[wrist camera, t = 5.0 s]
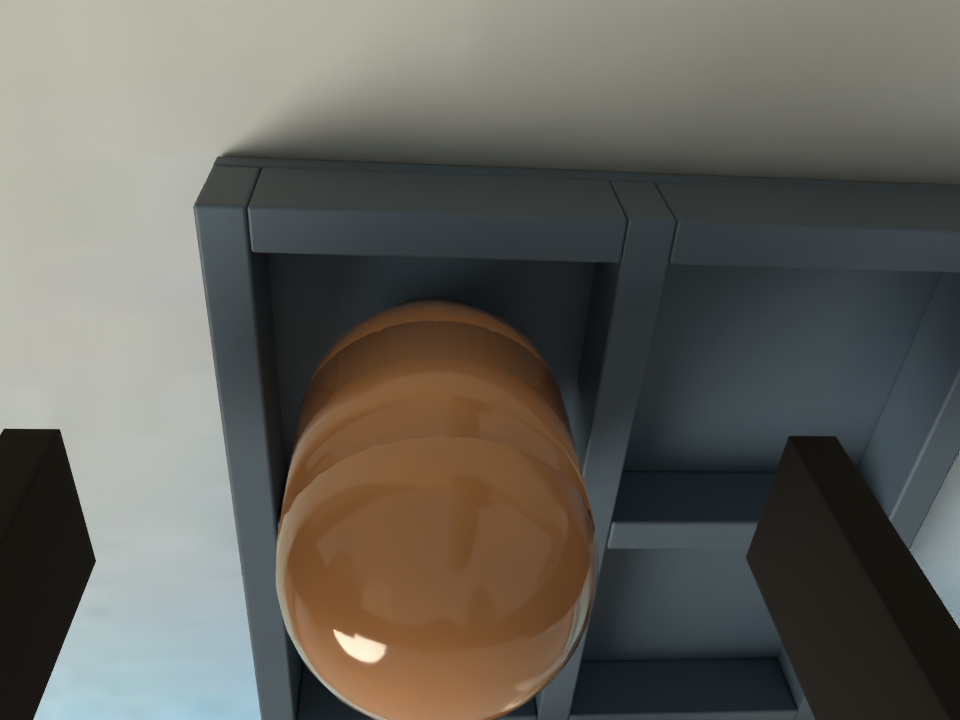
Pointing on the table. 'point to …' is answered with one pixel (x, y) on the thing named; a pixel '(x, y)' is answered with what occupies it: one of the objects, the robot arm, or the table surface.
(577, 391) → the egg tray
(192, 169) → the table surface
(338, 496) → the brown egg
